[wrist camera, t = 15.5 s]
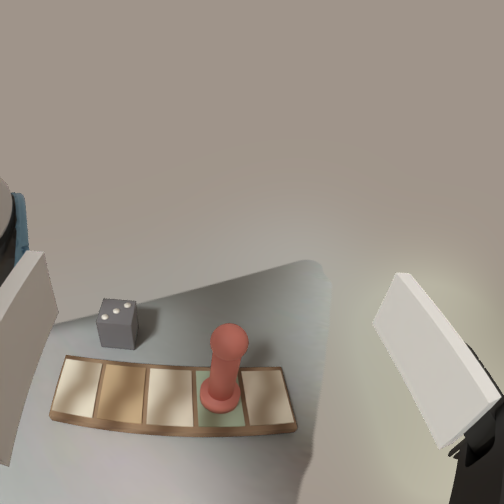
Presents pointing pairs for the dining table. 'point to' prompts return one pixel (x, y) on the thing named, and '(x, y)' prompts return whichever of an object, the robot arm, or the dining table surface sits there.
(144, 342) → the dining table surface
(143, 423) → the board
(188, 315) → the dining table surface
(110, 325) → the die
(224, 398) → the pawn
